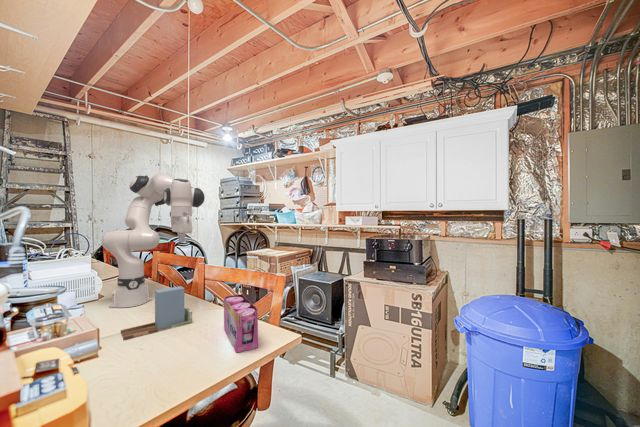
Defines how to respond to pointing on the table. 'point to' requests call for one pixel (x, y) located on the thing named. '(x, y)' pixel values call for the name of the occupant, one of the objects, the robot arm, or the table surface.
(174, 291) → the pillar block
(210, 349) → the table surface
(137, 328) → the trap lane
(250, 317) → the gum box
